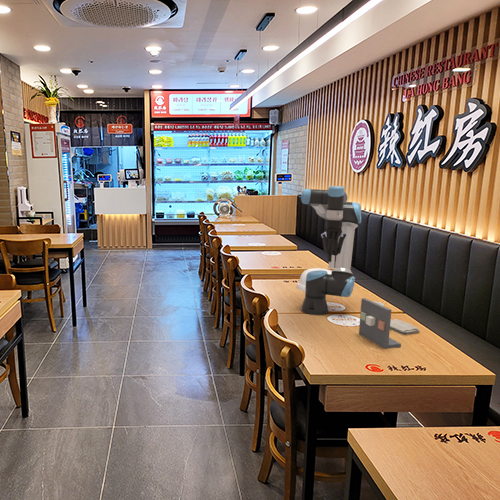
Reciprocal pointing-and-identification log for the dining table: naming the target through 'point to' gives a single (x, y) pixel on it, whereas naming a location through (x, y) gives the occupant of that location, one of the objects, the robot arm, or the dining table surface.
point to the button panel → (373, 331)
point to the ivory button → (370, 320)
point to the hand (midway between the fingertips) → (331, 268)
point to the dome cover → (302, 282)
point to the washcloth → (402, 327)
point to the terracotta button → (381, 325)
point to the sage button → (363, 316)
